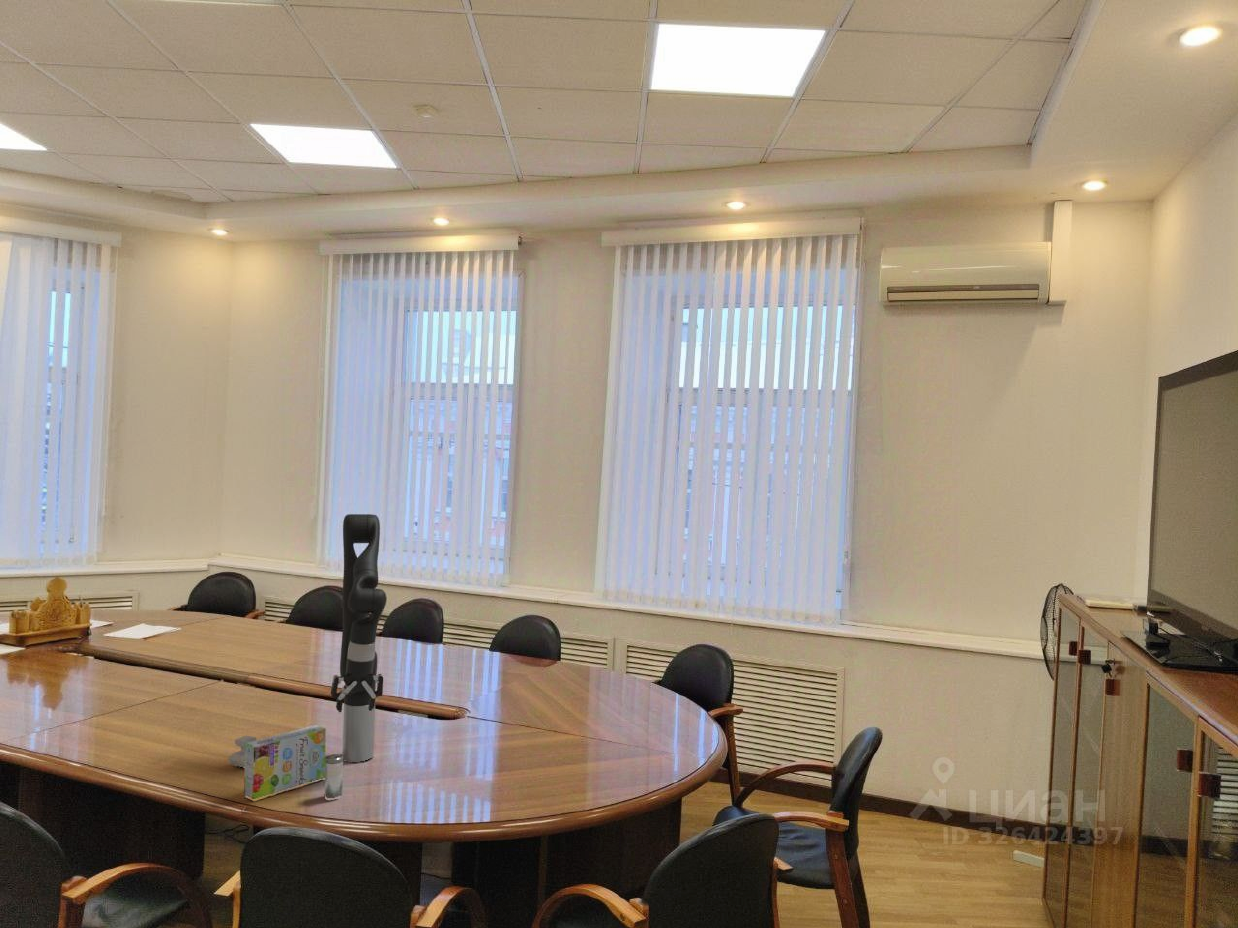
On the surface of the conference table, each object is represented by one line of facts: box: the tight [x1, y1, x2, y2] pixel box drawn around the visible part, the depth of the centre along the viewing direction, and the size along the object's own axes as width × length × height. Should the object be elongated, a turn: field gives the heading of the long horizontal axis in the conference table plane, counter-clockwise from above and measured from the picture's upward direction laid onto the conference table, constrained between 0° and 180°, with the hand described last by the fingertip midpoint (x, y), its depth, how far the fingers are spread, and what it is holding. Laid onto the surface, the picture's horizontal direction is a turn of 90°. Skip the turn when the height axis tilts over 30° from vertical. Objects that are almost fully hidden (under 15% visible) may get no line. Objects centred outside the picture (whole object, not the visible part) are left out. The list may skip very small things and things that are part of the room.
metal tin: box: [324, 753, 344, 798], centre depth 223 cm, size 5×5×11 cm
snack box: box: [243, 724, 327, 799], centre depth 228 cm, size 21×6×15 cm, turn 141°
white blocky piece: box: [228, 735, 257, 768], centre depth 243 cm, size 9×7×8 cm
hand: (354, 710), depth 238 cm, fingers open, 8 cm apart
